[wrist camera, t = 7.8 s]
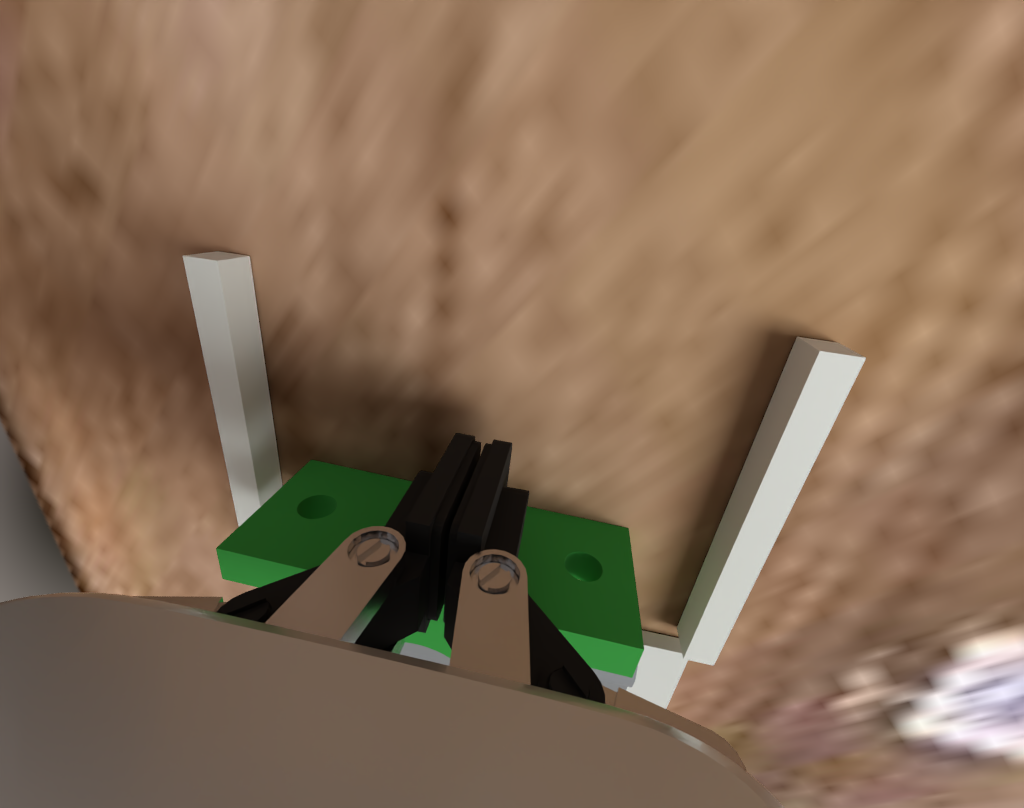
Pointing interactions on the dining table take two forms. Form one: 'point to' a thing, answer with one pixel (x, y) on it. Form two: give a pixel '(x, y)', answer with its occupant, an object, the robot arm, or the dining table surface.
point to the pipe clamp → (551, 584)
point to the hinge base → (736, 545)
